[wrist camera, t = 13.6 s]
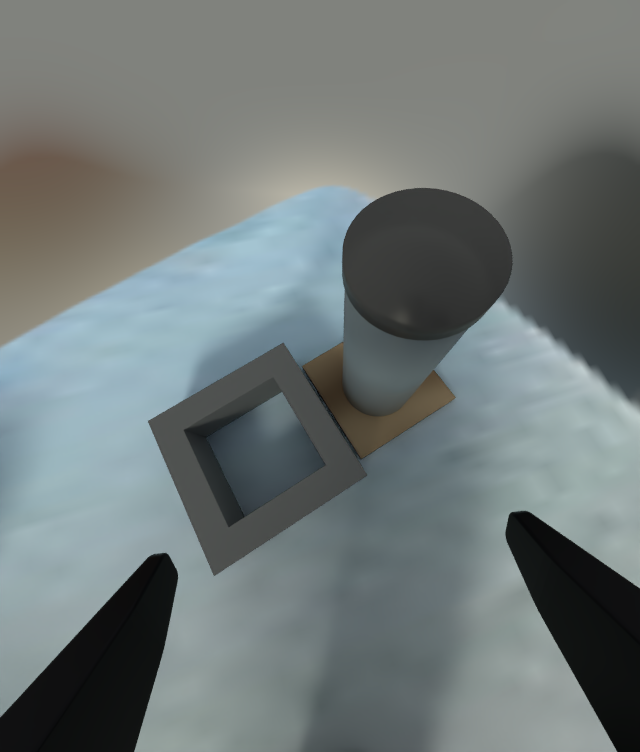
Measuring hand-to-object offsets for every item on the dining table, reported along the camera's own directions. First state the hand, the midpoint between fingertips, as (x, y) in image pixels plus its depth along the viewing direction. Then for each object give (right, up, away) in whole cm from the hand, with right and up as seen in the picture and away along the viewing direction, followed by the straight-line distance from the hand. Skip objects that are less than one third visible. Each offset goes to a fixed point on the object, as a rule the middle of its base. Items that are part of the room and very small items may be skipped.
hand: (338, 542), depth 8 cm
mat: (+4, +4, +15) cm, 16 cm away
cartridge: (+4, +4, +15) cm, 16 cm away
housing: (-4, -1, +14) cm, 15 cm away
